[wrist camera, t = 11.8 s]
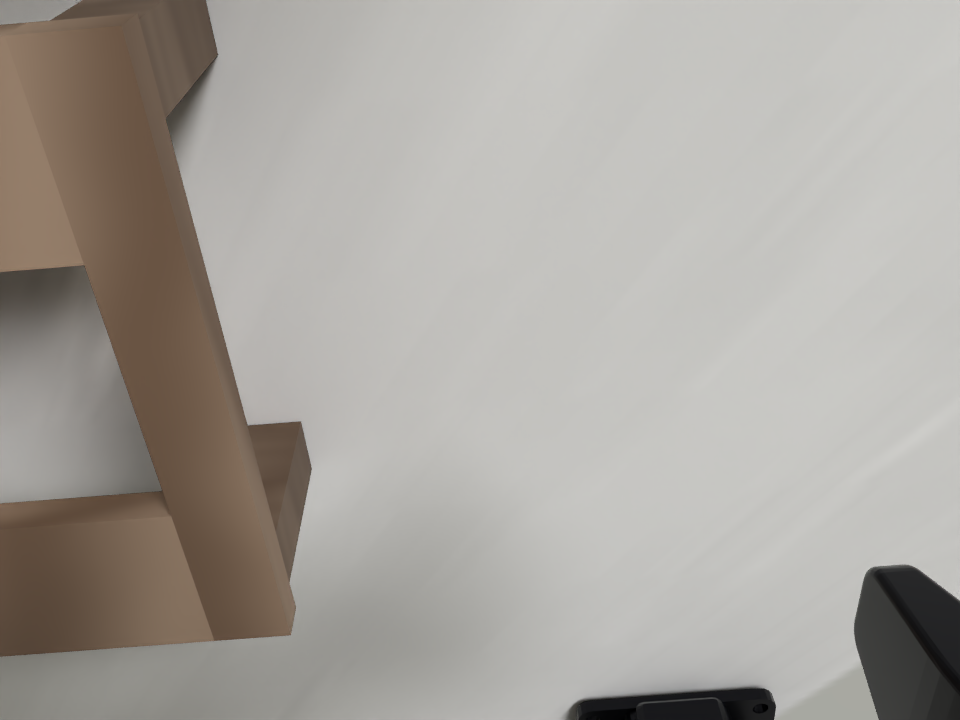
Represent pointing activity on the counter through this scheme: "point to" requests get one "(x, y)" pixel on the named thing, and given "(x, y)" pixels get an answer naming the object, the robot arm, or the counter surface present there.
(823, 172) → the counter surface
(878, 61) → the counter surface
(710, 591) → the counter surface
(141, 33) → the four-legged frame stand
